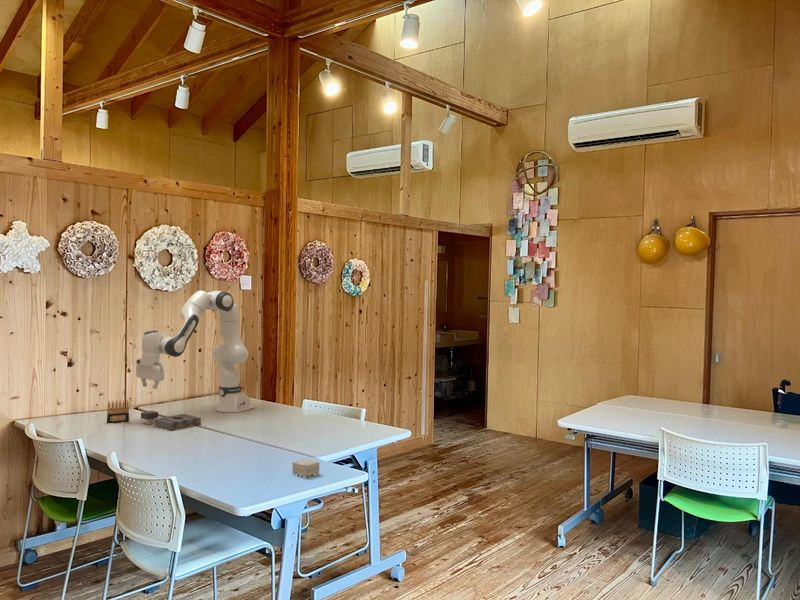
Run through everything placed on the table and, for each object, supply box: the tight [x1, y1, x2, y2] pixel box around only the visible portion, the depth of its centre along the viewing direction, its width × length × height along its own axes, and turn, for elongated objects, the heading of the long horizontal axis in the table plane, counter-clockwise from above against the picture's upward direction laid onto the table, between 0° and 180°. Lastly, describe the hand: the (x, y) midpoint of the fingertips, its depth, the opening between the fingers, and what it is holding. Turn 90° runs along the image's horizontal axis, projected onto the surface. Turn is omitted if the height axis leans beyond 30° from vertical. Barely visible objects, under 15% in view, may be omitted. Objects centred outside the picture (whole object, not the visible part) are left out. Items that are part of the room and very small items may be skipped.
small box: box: [291, 458, 320, 477], centre depth 252 cm, size 8×8×5 cm
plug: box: [140, 410, 159, 425], centre depth 332 cm, size 6×6×6 cm
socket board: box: [153, 413, 202, 432], centre depth 328 cm, size 18×14×5 cm
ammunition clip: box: [106, 399, 130, 424], centre depth 332 cm, size 11×2×12 cm, turn 121°
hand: (149, 387), depth 332 cm, fingers open, 8 cm apart
